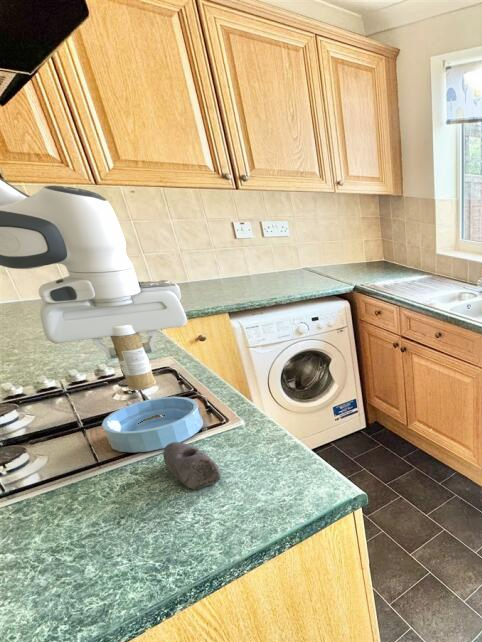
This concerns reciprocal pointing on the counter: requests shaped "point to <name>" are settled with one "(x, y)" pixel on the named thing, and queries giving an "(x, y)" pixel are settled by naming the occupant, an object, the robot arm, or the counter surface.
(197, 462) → the perforated stone tool
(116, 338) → the sprinkles bottle
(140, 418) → the bowl
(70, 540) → the counter surface
